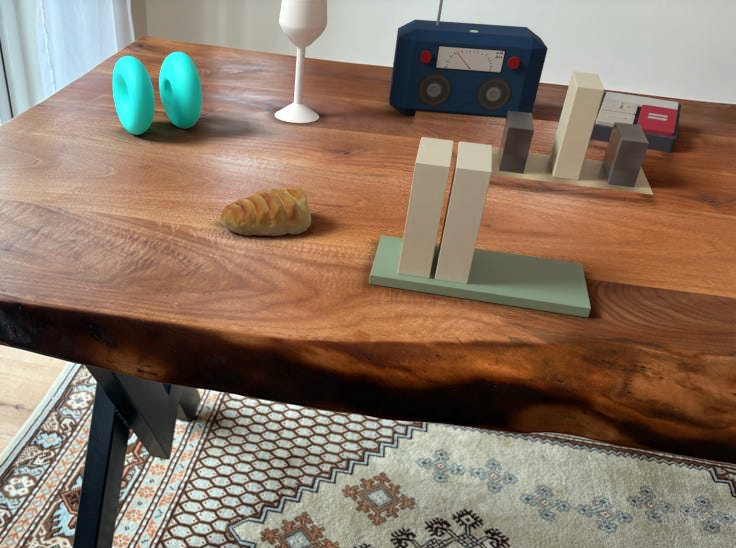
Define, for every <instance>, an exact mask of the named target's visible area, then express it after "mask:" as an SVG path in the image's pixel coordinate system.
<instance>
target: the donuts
mask: <svg viewBox="0 0 736 548" xmlns="http://www.w3.org/2000/svg"><path fill="white" fill-rule="evenodd" d="M158 87H159V88H158V89H159V96H160V101H161V105H162V108H163V110H164V113H165V115H166V116H167V118H168V120H169V121H170V122H171V123H172V124H173V125H174V126H175V127H178V128H180V129H185V130H186V129H190V128H192V127H194V126H195V125H196V124H197V123H198V121H199V120H200V119H199V118H200V117H201V113H202V107H203V88H202V82H201V77H200V74H199V70H198V68H197V66H196V64H195V63H194V60H193V59H192V58H191V57H190V56H189V55H188V54H187V53H185V52H183V51H174V52H171V53H170V54H168V55H167V56H166V57H165V58H164V60H163V62H162V64H161V66H160V71H159V77H158ZM154 91H155V90H154V85H153V83H152V79H151V75H150V74H149V71H148V70H147V68H146V67H145V65H144V63H142V61H140V59H138V58H136V57H135V56H132V55H125V56H122V57H120V58H119V59H118V60H117V61H116V62H115V65H114V68H113V71H112V94H113V101H114V105H115V111H116V114H117V117H118V120H119V121H120V123H121V125H122V127H123V128H124V130H126V131H127V132H128V133H129V134H132V135H137V136H138V135H139V136H140V135H142V134H144V133H146V132H147V131H148V129H149V128H150V127H151V125H152V124H153V120H154V116H155V111H156V110H155V109H156V100H155V92H154Z"/></svg>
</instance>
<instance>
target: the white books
mask: <svg viewBox="0 0 736 548" xmlns="http://www.w3.org/2000/svg"><path fill="white" fill-rule="evenodd" d="M454 142H455V141H454V140H452V139H445V138H444V139H443V138H434V137H426V136H421V137H420V141H419V145H418V149H417V154H416V158H415V162H414V169H413V173H412V174H413V175H412V181H411V189H410V193H409V200H408V206H407V213H406V219H405V224H404V230H403V237H397V236H390V235H385V234H381V235H380V237H379V241H378V244H377V245H378V246H377V248H376V252H375V256H374V258H373V263H372V267H371V269H370V273H369V279H368V284H369V285H372V286H373V285H374V286H381V287H388V288H392V289H393V288H394V289H399V290H407V291H413V292H419V293H426V294H432V295H439V296H444V297H445V296H446V297H451V298H458V299H464V300H465V299H466V300H470V301H471V300H472V301H478V302H484V303H490V304H496V305H497V304H498V305H502V306H503V305H504V306H511V307H517V308H523V309H530V310H536V311H542V312H549V313H555V314H562V315H568V316H576V317H581V318H582V317H583V318H589V315H590V313H591V310H592V308H591V302H590V297H589V296H590V295H589V291H588V285H587V282H586V277H585V276H586V275H585V271H584V266H583V263H581V262H574V261H567V260H559V259H552V258H545V257H539V256H531V255H525V254H518V253H511V252H505V251H504V252H503V251H498V250H497V251H496V250H490V249H483V248H476V245H477V241H478V237H479V232H480V227H481V222H482V219H483V215H484V214H483V213H484V210H485V205H486V200H487V196H488V192H489V187H490V182H491V179H492V175H491V174H492V148H493V144H485V143H477V142H470V141H469V142H468V141H462V140H461V141H458V146H457V151H456V156H455V161H454V167H453V173H452V176H451V177H452V178H451V183H450V188H449V194H448V199H447V203H446V209H445V214H444V219H443V224H442V230H441V235H440V240H439V242H437V240H438V234H439V230H440V223H441V218H442V214H443V209H444V208H443V207H444V202H445V197H446V192H447V188H448V187H447V186H448V182H449V177H450V171H451V165H452V157H453V149H454Z"/></svg>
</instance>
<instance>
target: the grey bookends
mask: <svg viewBox="0 0 736 548" xmlns="http://www.w3.org/2000/svg"><path fill="white" fill-rule="evenodd" d="M534 132H535V126H534V118H533V112H532V113H526V112H516V111H508V112H507V117H506V118H505V122H504V126H503V131H502V135H501V140H500V144H499V148H498V147H492V174H491V176H498V177H499V176H500V177H505V178H506V177H507V178H515V179H522V180H531V181H539V182H546V183H547V182H548V183H554V184H555V183H557V184H563V185H571V186H580V187H588V188H597V189H603V190H612V191H620V192H626V193H627V192H629V193H636V194H643V195H654V192H653V190H652V188H651V186H650V184H649V183H650V182H649V181H648V179H647V177H646V174H645V172H644V169H643V167H642V165H643V163H644V159H645V156H646V154H647V150H648V149H647V148H648V145H649V142H648V140H647V138H646V136H645V134H644V132H643V130H642V128H641V126H640V125H636V124H627V123H618V122H615V123H614V126H613V130H612V133H611V136H610V139H609V142H607V147H606V149H605V153H604V156H603V159H602V160H599V159H591V158H584V162H583V165H582V169H581V172H580V175H579V179H578V180H571V179H563V178H554V177H553V174H552V168H551V162H550V155H551V154H548V153H539V152H533V151H530V149H531V145H532V141H533V136H534Z"/></svg>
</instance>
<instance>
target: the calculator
mask: <svg viewBox="0 0 736 548" xmlns="http://www.w3.org/2000/svg"><path fill="white" fill-rule="evenodd" d="M681 110H682V104H680V103H679V102H678V101H673V100H666V99H662V98H661V99H660V98H653V97H646V96H639V95H634V94H626V93H621V92H613V91H607V92H604V93H603V96H602V100H601V103H600V107H599V110H598V114H597V117H596V120H595V124H594V127H593V131H592V134H591V138H590V140H593V141H599V142H606V143H609V139H610V136H611V133H612V130H613V126H614V123H615V122H618V123H627V124H636V125H640V126H641V128H642V130H643V132H644V134H645V136H646V138H647V140H648V142H649V145H648V148H647V150H651V151H656V152H657V151H658V152H664V153H670V154H671V153H672V152H673V149H674V147H675V144H676V141H677V138H678V132H679V123H680V117H681Z"/></svg>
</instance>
